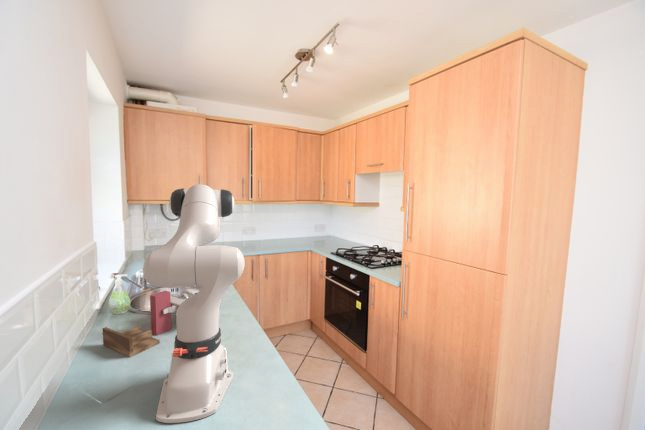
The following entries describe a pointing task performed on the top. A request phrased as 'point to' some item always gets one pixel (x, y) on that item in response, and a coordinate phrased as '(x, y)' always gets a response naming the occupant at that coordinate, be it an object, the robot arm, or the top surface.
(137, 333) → the book rack
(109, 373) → the top surface
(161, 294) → the red rectangular block
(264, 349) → the top surface
